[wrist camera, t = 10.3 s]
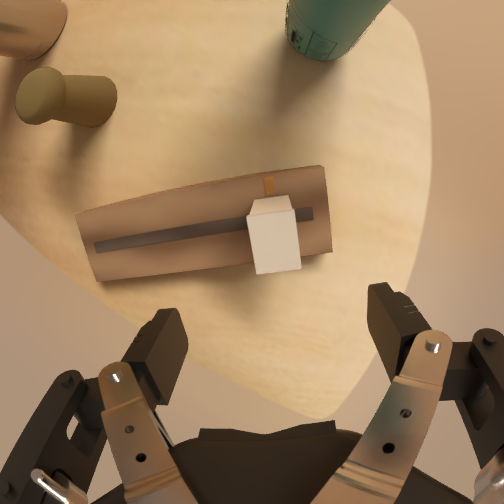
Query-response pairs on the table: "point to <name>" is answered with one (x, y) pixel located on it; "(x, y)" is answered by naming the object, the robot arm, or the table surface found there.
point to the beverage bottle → (329, 25)
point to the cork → (65, 98)
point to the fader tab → (274, 235)
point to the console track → (200, 224)
